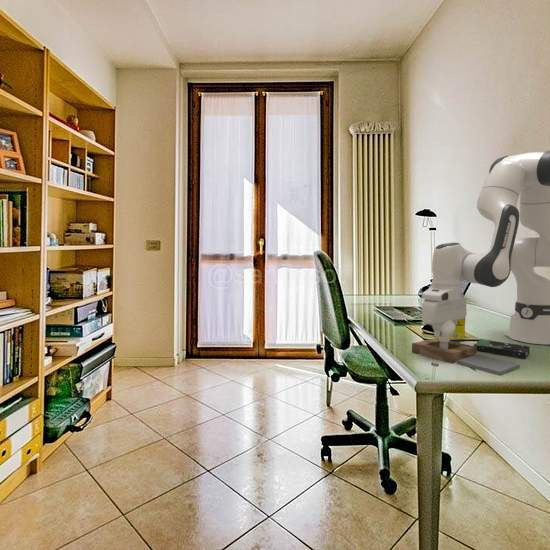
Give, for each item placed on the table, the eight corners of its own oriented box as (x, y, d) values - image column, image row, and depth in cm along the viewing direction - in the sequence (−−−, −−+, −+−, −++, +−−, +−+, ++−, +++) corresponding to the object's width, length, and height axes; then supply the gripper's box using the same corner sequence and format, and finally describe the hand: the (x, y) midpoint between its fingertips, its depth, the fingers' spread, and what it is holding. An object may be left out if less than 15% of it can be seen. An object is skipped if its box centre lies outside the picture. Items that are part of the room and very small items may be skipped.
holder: (436, 346, 128) (436, 337, 128) (476, 355, 117) (476, 346, 117) (411, 352, 121) (412, 343, 120) (452, 363, 109) (452, 353, 109)
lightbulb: (446, 347, 123) (447, 315, 122) (458, 352, 116) (460, 318, 116) (429, 348, 122) (430, 315, 121) (440, 353, 115) (442, 319, 114)
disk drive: (529, 354, 121) (479, 345, 131) (529, 346, 121) (480, 338, 131) (525, 361, 114) (472, 351, 123) (526, 352, 113) (473, 343, 123)
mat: (477, 357, 116) (477, 354, 115) (519, 367, 106) (519, 364, 106) (457, 363, 109) (457, 360, 109) (499, 375, 99) (500, 371, 99)
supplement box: (464, 341, 135) (466, 312, 135) (450, 341, 135) (451, 312, 134) (454, 337, 141) (455, 309, 141) (440, 338, 140) (441, 310, 140)
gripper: (454, 289, 126) (452, 328, 127) (418, 294, 115) (417, 337, 116) (472, 291, 121) (470, 332, 122) (436, 296, 109) (435, 341, 110)
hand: (444, 334), depth 119 cm, fingers closed on lightbulb, 6 cm apart
